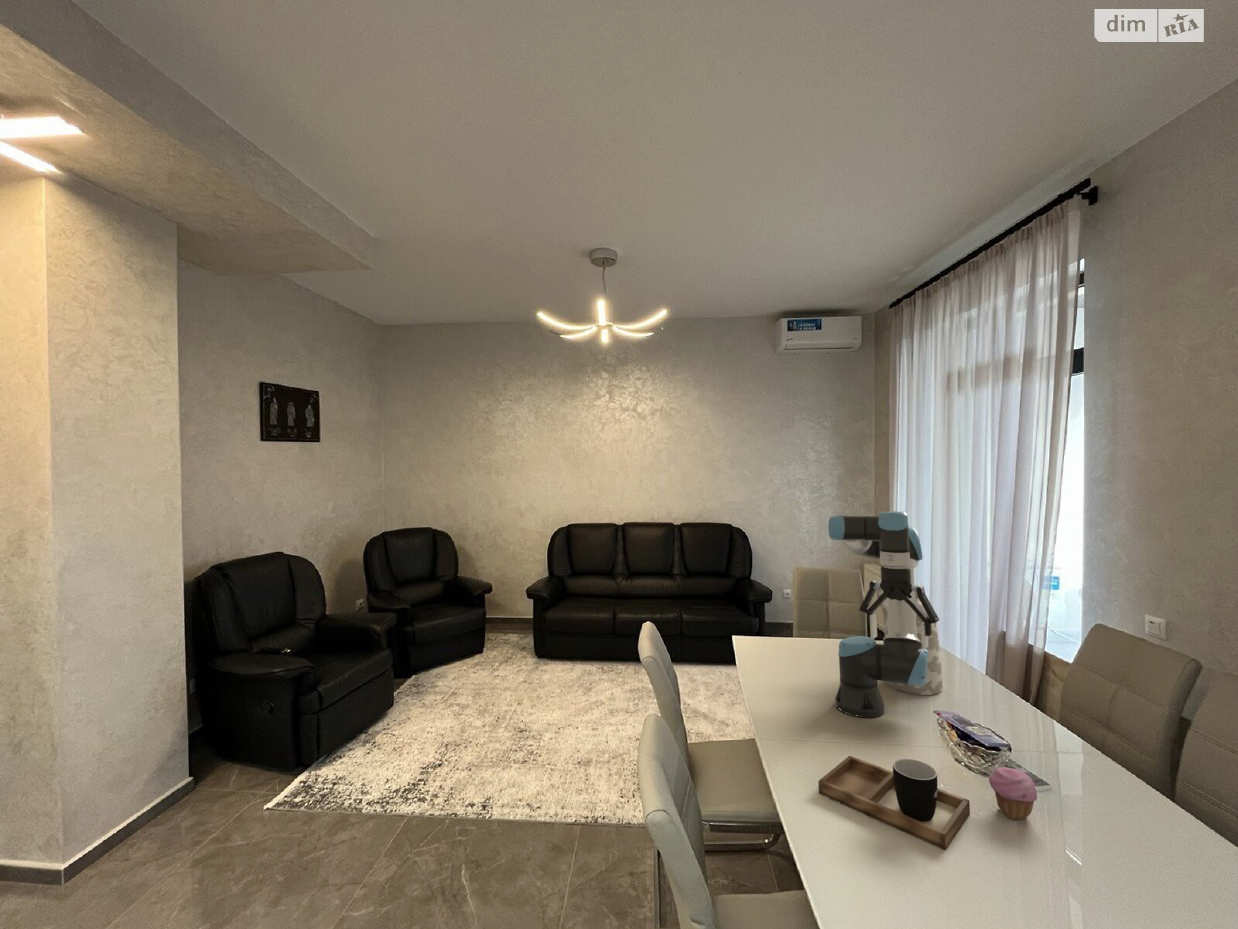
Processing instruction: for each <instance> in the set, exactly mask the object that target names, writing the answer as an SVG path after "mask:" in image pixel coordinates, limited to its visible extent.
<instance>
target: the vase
mask: <svg viewBox="0 0 1238 929" xmlns="http://www.w3.org/2000/svg"><path fill="white" fill-rule="evenodd" d="M919 586H920V585H918V584H914V587H919ZM882 593H883V590H882V589H881V588H880V587H879V588H878V589H877V590H876V598H877V599H878V598H879V597H880V595H881V594H882ZM915 601H916V602H917V603H918V604H919V606H920V607H921V608H922V609H923V610H924V612H925V613H926V611H925V609H924V607H923V605H922V604H921V602H920V600H919V598H918V596H917V594H915ZM879 607H880V609H881V611H882V616H883V619H882V620H883V622H884V624H883V625H884V638H885V637H886V636H887V635H888V613H887V603H885V601H884V602H883V603H882V604H881V605H880V606H879ZM926 614H927V613H926ZM922 623H924V622H923V621H922V620H921V619H920V617H919V616H918V615H917V614H916V628H917V638H918V639H919V640H920V641H921V642H922V637H921V624H922ZM937 624H938V623H937V622H936V623H932V624H931V627H932V634H931V636H928V644H929V646H928V647H927V648H925V649H927V650H928V658H927V670H926V680H925V683H924V684H923V685H921V686H917V685H907V684H900V683H893V682H886V681H885V682H886V684H887V685H888V684H889V685H890V686H891V687H890V686H889V685H888V686H889V687H890V688H892V689H893V688H895V689H894V690H896V689H897V690H896V691H898V690H899V692H901V691H902V693H904V694H910V695H915V696H933V695H938V694H940V693H941V692H942V691H943V690H944V689H943V675H942V662H941V661H942V660H941V650H940V640H939V633H938V632H939V631H938V625H937Z"/></svg>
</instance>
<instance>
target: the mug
mask: <svg viewBox="0 0 1238 929" xmlns="http://www.w3.org/2000/svg"><path fill="white" fill-rule="evenodd" d="M892 772H893V777H894V785H895V791H896V797H897V801H898V804H899V807H900V809H901V811H902V813H903V814H904V815H906V816H908V817H911V818H913V819H916V820H918V821H920V822H927V821H930V820H931V819H932V818H933V816H934V814H935V809H936V803H937V788H938V773H937V771H936V769H935V768H934V767H932V765H930V764H928V763H926V762H923V761H921V760H918V759H914V758H899V759H897V760H895V761H893V763H892Z"/></svg>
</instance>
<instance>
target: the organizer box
mask: <svg viewBox="0 0 1238 929" xmlns="http://www.w3.org/2000/svg"><path fill="white" fill-rule="evenodd" d="M818 794H819V795H820V794H822V795H821V796H823V795H824V796H823V797H825V796H826V797H825V798H827V797H829V798H830V800H832V801H834V800H835V802H836V801H838V802H840V803H839V804H841V803H842V804H841V805H843V804H845V805H846V806H845V805H844V806H845V807H847V806H848V808H850V809H852V810H854V811H856V812H859V813H861V814H863V815H865V816H868V817H870V818H873V819H874V820H876V821H879V822H881V823H883V824H885V825H888V826H890V827H892V828H895V829H897V830H900V831H901V832H903V833H906V834H907V835H910V836H913V837H915V838H917V839H919V840H922V841H924V842H926V843H928V844H930V845H932V846H935V847H938V848H939V849H941V850H944V851H946V850H947V849H948V848H949V847H950V845H951V843H952V841H953V840H954V839H955V838H956V836H957V835H958V833H959V831H960V830H961V828H962V827H963V826H964V824H965V823H966V821H967V820H968V818H969V817H970V814H971V808H970V804H971V803H970V800H969V799H967V798H964V797H961V796H959V795H957V794H954V793H952V792H948V791H947V790H943V789H941V788H938V787H937V803H936V809H935V814H934V816H933V818H932V819H931V820H930V821H927V822H920V821H918V820H916V819H913V818H911V817H908V816H906V815H904V814H903V813H902V811H901V809H900V807H899V804H898V801H897V797H896V791H895V785H894V777H893V770H892V771H891V770H890V769H887V768H883V767H881V766H878V765H876V764H873V763H870V762H867V761H866V760H862V759H860V758H857V757H854V756H852V755H848V756H847V757H846V758H845V759H843V760H842V761H841V762H839V764H837V765H836V766H835V767H834V768H833V769H831V770H829V772H827V773H826V774H825V775H824V776H822V778H820V779H819V780H818ZM829 798H828V799H829ZM838 802H837V803H838Z"/></svg>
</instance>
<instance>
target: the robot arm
mask: <svg viewBox="0 0 1238 929" xmlns="http://www.w3.org/2000/svg"><path fill="white" fill-rule="evenodd" d="M909 525H910V522H909V516H908V513H906V512H905V511H896V510H895V511H891V510H890V511H880V512H879V514H878V515H876V516H875V515H872V516H871V515H864V516H863V515H862V516H859V515H857V516H855V515H853V516H852V515H849V516H848V515H834V516H830V517H829V518H828V525H827V526H828V528H827V529H828V537H829V538H830V539H831V541H832V540H833V541H842V542H843V544H844V546H845V547H846V548H845V549H847V550H848V551H850V552H851V553H853V554H856V555H858V556H861V557H864V558H865V557H866V558H870V559H879V560H880V565H881V567H880V580H881V581H877V580H875V579H874V580H872V581H871V580H870V582H869V585H868V586H869V589H868V591H867V592H866V595H865V596H864V598H863V601H862V603H861V604H860V607H859V611H860V612H863V613H865V614H866V624H867V626H869V628H870V629H869V630H870V637H869V636H863V635H861V636H860V635H858V636H849V637H846V638H843V639H842V640H840V641H839V643H838V652H837V655H838V659H839V661H838V663H839V686H838V688H837V692H836V696H835V699H834V700H835V703H834V704H835V706H836V705H837V707H838V708H840V709H841V710H842V711H844V712H847V713H849V714H852V715H858V716H862V717H861V718H863V717H869V718H870V717H873V718H878V716H879V717H881V716H883V715H884V714H885V712H886V711H885V704H884V700H883V697H882V696H881V692H880V690H879V687H878V685H879V684H878V681H881V682H893V683H900V684H907V685H917V686H921V685H923V684H924V683H925V680H926V670H927V658H928V650H927V649H925V648H927V647H928V646H929V644H928V636H931V634H932V627H931V624H932V623H936V622H939V621H940V618H939V616H938V614H937V612H936V611H935V609H934V607H933V606H932V603H931V602H930V600H929V598H928V597H927V595H926V591H925V587H924V586H923V585H918V586H919V587H914V585H915V573H914V569H915V568H916V567H918V565H919V561H922V560H923V551H922V545H921V540H920V535H919V533H918V530H917V529H916V528H914V527H909ZM879 587H880V588H881V589H882V592H881V593H882V594H881V595H880V597H879V598H877V599H876V600H875V601H874V602H873V603H872V604H871V602H872V600H873V598H874V596H875V594H876V593H877V589H878V588H879ZM915 594H917V596H918V598H919V600H920V602H921V604H922V605H923V607H924V609H925V611H926V613H927V614H926V613H925V612H924V610H923V609H922V608H921V607H920V606H919V604H918V603H917V602H916V601H915ZM885 601H887V602H886V604H887V613H888V635H887V636H886V637H885V636H884V637H883V639H882V640H883V643H881V644H880V643H877V641H876V639H875V638H877V637H878V625H877V624H878V622H877V614H876V613H875V612H876V610H878V608H880V607H881V606H880V605H881V604H882V603H883V602H884V603H885ZM870 604H871V605H870ZM916 614H917V615H918V616H919V617H920V619H921V620H922V621H923V622H924V623H922V624H921V637H922V642H921V641H920V640H919V639H918V638H917V628H916ZM837 707H836V708H837ZM838 708H837V709H838ZM842 711H841V712H842ZM844 712H843V713H844ZM849 714H848V715H849ZM852 715H851V716H852ZM869 718H868V719H869Z"/></svg>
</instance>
